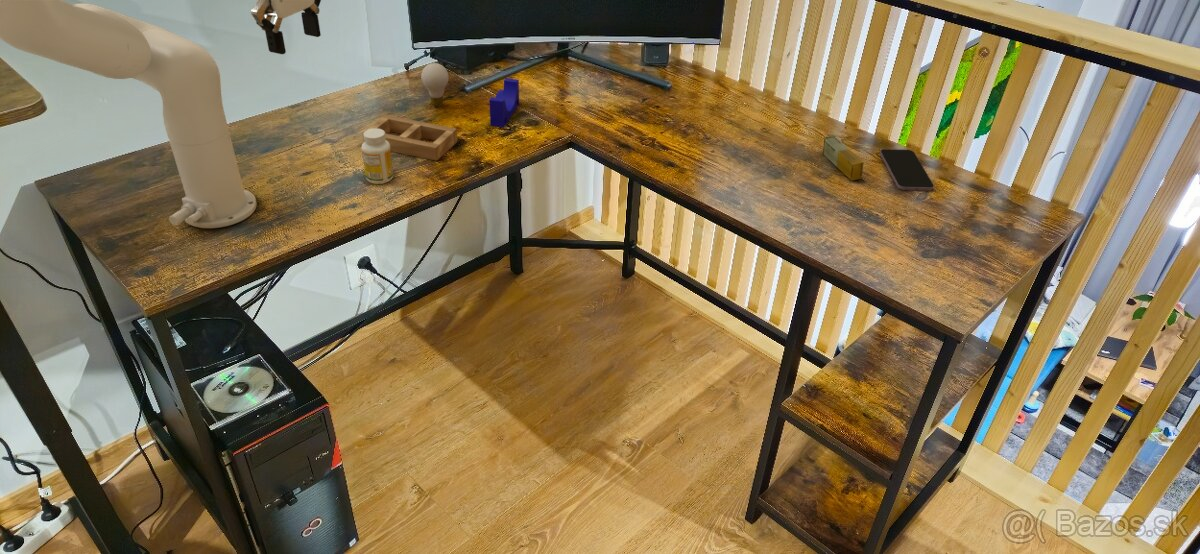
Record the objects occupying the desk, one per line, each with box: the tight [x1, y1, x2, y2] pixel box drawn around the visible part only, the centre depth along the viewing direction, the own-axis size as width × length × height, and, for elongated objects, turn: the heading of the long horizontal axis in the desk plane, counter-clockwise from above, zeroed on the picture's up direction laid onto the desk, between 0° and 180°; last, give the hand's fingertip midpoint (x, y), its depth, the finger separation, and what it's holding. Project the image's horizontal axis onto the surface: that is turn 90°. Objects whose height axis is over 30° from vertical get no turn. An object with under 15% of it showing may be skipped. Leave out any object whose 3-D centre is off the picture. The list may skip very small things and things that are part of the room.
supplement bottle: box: [360, 128, 395, 185], centre depth 161 cm, size 5×5×10 cm
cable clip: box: [488, 77, 520, 128], centre depth 186 cm, size 12×4×6 cm, turn 168°
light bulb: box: [420, 62, 449, 108], centre depth 187 cm, size 6×6×10 cm
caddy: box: [362, 114, 459, 162], centre depth 174 cm, size 9×17×3 cm, turn 71°
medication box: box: [822, 135, 865, 182], centre depth 172 cm, size 12×3×4 cm, turn 16°
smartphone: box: [879, 148, 935, 192], centre depth 172 cm, size 7×1×15 cm
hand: (295, 43), depth 151 cm, fingers open, 9 cm apart
